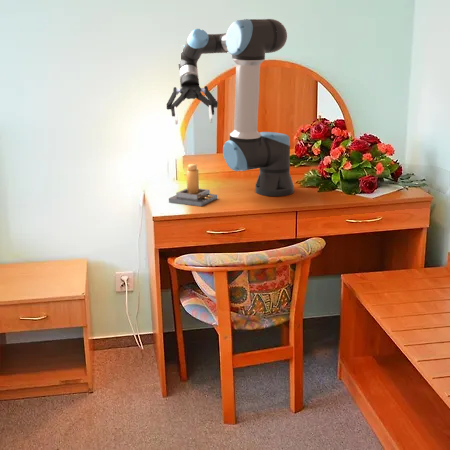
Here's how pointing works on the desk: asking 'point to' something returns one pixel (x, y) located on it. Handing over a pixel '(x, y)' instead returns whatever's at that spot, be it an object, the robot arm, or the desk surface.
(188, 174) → the wooden peg doll
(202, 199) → the plate
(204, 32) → the robot arm
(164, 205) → the desk surface
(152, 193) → the desk surface
